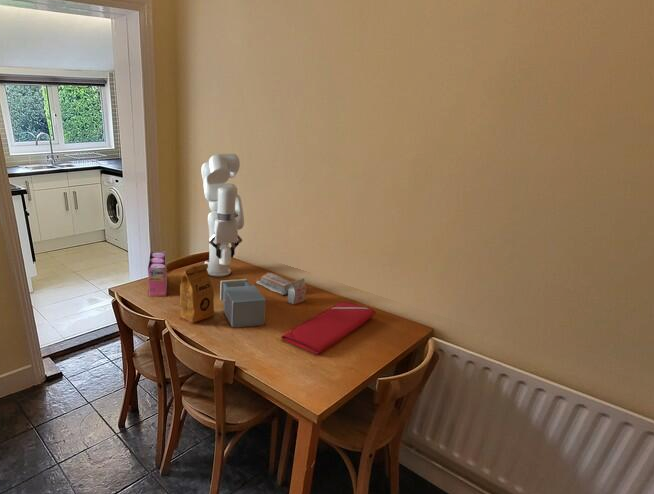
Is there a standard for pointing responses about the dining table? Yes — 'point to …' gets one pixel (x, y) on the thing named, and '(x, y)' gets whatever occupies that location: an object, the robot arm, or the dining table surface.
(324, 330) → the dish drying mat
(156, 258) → the gum box
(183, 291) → the coffee package
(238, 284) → the tray
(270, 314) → the dining table surface
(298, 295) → the small milk carton
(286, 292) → the packaged product
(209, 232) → the robot arm
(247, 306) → the blue-grey box
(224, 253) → the capsule
